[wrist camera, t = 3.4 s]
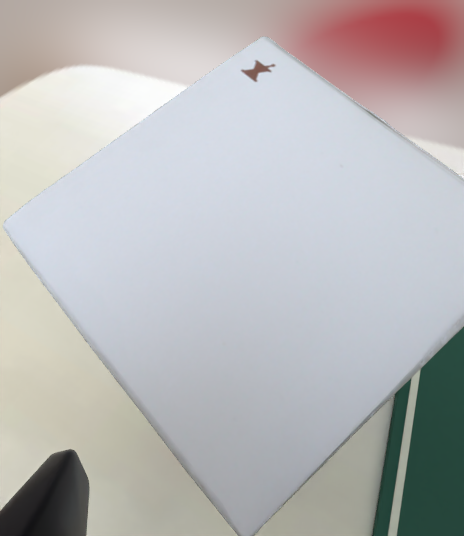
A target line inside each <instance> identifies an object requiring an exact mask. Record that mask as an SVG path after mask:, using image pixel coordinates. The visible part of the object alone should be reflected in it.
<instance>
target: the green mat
mask: <svg viewBox="0 0 464 536" xmlns="http://www.w3.org/2000/svg"><path fill="white" fill-rule="evenodd" d="M372 536H464V327H463V328H462V329H461V330H460V331H459V332H458V333H456V334H455V335H454V336H453V337H452V338H451V339H450V340H449V341H448V342H447V343H446V344H445V345H444V346H443V347H442V348H441V349H440V350H439V351H438V352H437V353H436V354H435V355H434V356H433V357H432V358H431V359H430V360H429V361H428V362H427V363H426V364H425V365H424V366H423V367H422V368H421V369H420V370H419V371H418V372H417V373H416V374H415V375H414V376H413V377H412V378H411V379H410V380H409V381H408V382H407V383H406V384H404V385H403V386H402V387H401V388H400V389H399V390H398V391H397V392H396V394H395V400H394V406H393V412H392V418H391V424H390V430H389V437H388V443H387V449H386V455H385V461H384V467H383V473H382V480H381V486H380V492H379V498H378V504H377V510H376V517H375V523H374V529H373V535H372Z"/></svg>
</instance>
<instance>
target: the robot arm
mask: <svg viewBox="0 0 464 536" xmlns="http://www.w3.org/2000/svg"><path fill="white" fill-rule="evenodd" d="M88 503H89V480H88V477H87V475H86V473H85V470H84V468H83V466H82V464H81V462H80V460H79V457H78V455H77V453H76V452H75V451H74V450H71V449H69V450H65V451H61V452H57V453H54V454H52V455H51V456H50V457H49V458H48V459H47V460H46V461H45V462H44V463H43V464H42V465H41V467H40V468H39V469H38V470H37V471H36V472H35V473H34V474H33V475H32V477H31V478H30V479H29V480H28V481H27V482H26V483H25V484H24V485H23V486H22V488H21V489H20V490H19V491H18V492H17V493H16V494H15V495H14V496H13V497H12V499H11V500H10V501H9V502H8V503H7V504H6V505H5V506H4V507H3V508H2V510H1V511H0V536H86V531H87V517H88Z"/></svg>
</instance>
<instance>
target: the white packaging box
mask: <svg viewBox="0 0 464 536" xmlns="http://www.w3.org/2000/svg"><path fill="white" fill-rule="evenodd" d="M3 228H4V230H5V231H6V233H7V234H8V236H9V238H10V239H11V241H12V242H13V243H14V245H15V246H16V248H17V249H18V251H19V252H20V253H21V255H22V256H23V258H24V259H25V260H26V262H27V263H28V265H29V266H30V267H31V269H32V270H33V271H34V272H35V274H36V275H37V277H38V278H39V279H40V281H41V282H42V283H43V285H44V286H45V287H46V289H47V290H48V291H49V293H50V294H51V295H52V297H53V298H54V299H55V301H56V302H57V303H58V304H59V306H60V307H61V308H62V310H63V311H64V312H65V314H66V315H67V316H68V318H69V319H70V320H71V322H72V323H73V324H74V326H75V327H76V328H77V330H78V331H79V332H80V334H81V335H82V336H83V338H84V339H85V340H86V342H87V343H88V344H89V346H90V347H91V348H92V350H93V351H94V352H95V353H96V355H97V356H98V357H99V359H100V360H101V361H102V362H103V364H104V365H105V366H106V368H107V369H108V370H109V371H110V373H111V374H112V375H113V377H114V378H115V379H116V380H117V382H118V383H119V384H120V386H121V387H122V388H123V389H124V391H125V392H126V393H127V395H128V396H129V397H130V398H131V400H132V401H133V402H134V404H135V405H136V406H137V407H138V409H139V410H140V411H141V413H142V414H143V415H144V416H145V418H146V419H147V420H148V422H149V423H150V424H151V426H152V427H153V428H154V430H155V431H156V432H157V433H158V435H159V436H160V437H161V439H162V440H163V441H164V443H165V444H166V445H167V446H168V448H169V449H170V450H171V452H172V453H173V454H174V456H175V457H176V458H177V460H178V461H179V462H180V463H181V465H182V466H183V467H184V469H185V470H186V471H187V473H188V474H189V475H190V476H191V478H192V479H193V480H194V481H195V483H196V484H197V485H198V486H199V488H200V489H201V490H202V491H203V493H204V494H205V495H206V496H207V498H208V499H209V500H210V501H211V503H212V504H213V505H214V506H215V507H216V509H217V510H218V511H219V512H220V514H221V515H222V516H223V517H224V519H225V520H226V521H227V522H228V524H229V525H230V526H231V527H232V529H233V530H234V531H235V532H236V533H237V535H238V536H254V535H255V534H256V533H257V532H258V531H259V529H260V528H261V527H262V526H263V525H264V524H265V523H266V522H267V521H268V520H269V519H270V518H271V517H272V516H273V515H274V514H275V513H276V512H277V511H278V510H279V509H280V508H281V507H282V506H283V505H284V504H285V503H286V502H287V501H288V500H289V499H290V498H291V497H292V496H293V495H294V494H295V493H296V492H297V491H298V490H299V489H300V488H301V487H302V486H303V485H304V484H305V483H306V482H307V481H308V480H309V479H310V478H311V477H312V476H313V475H314V474H315V473H316V472H317V471H318V470H319V469H320V468H321V467H322V466H323V465H324V464H325V463H326V462H327V461H328V460H329V459H330V458H331V457H332V456H333V455H334V454H335V453H336V452H337V451H338V450H339V449H340V448H341V447H342V446H343V445H344V444H345V443H346V442H347V441H348V440H349V439H350V438H351V437H352V436H353V435H354V434H355V433H356V432H357V431H358V430H359V429H360V428H361V427H362V426H363V425H364V424H365V423H366V422H367V421H368V420H369V419H370V418H371V417H372V416H373V415H374V414H375V413H376V412H377V411H378V410H379V409H380V408H381V407H382V406H383V405H384V404H385V403H386V402H387V401H388V400H389V399H390V398H391V397H392V396H393V395H394V394H395V393H396V392H397V391H398V390H399V389H400V388H401V387H402V386H403V385H404V384H406V383H407V382H408V381H409V380H410V379H411V378H412V377H413V376H414V375H415V374H416V373H417V372H418V371H419V370H420V369H421V368H422V367H423V366H424V365H425V364H426V363H427V362H428V361H429V360H430V359H431V358H432V357H433V356H434V355H435V354H436V353H437V352H438V351H439V350H440V349H441V348H442V347H443V346H444V345H445V344H446V343H447V342H448V341H449V340H450V339H451V338H452V337H453V336H454V335H455V334H456V333H458V332H459V331H460V330H461V329H462V328H463V327H464V179H463V178H462V177H461V176H459V175H458V174H456V173H455V172H454V171H452V170H451V169H449V168H448V167H447V166H445V165H444V164H443V163H441V162H440V161H438V160H437V159H436V158H434V157H433V156H431V155H430V154H429V153H427V152H426V151H424V150H423V149H422V148H420V147H419V146H417V145H416V144H415V143H413V142H412V141H410V140H409V139H408V138H406V137H405V136H403V135H402V134H401V133H399V132H398V131H397V130H395V129H394V128H392V127H391V126H390V125H389V124H388V123H387V122H386V121H384V120H383V119H381V118H380V117H378V116H377V115H376V114H374V113H373V112H371V111H370V110H368V109H367V108H365V107H363V106H362V105H360V104H359V103H358V102H356V101H355V100H353V99H352V98H351V97H349V96H348V95H347V94H345V93H344V92H342V91H341V90H339V89H338V88H336V87H335V86H334V85H332V84H331V83H330V82H328V81H327V80H325V79H324V78H322V77H321V76H320V75H318V74H317V73H316V72H314V71H313V70H312V69H310V68H309V67H307V66H306V65H305V64H304V63H302V62H301V61H299V60H298V59H297V58H295V57H293V56H292V55H291V54H290V53H288V52H287V51H285V50H284V49H283V48H281V47H280V46H279V45H278V44H277V43H275V42H274V41H273V40H271V39H270V38H269V37H264V36H263V37H261V38H259V39H258V40H256V41H255V42H254V43H252V44H251V45H249V46H247V47H246V48H245V49H243V50H241V51H240V52H238V53H237V54H235V55H233V56H232V57H231V58H229V59H228V60H226V61H225V62H223V63H222V64H221V65H219V66H218V67H216V68H215V69H213V70H212V71H210V72H209V73H208V74H206V75H205V76H204V77H202V78H201V79H199V80H198V81H196V82H195V83H194V84H192V85H191V86H190V87H188V88H187V89H185V90H184V91H183V92H181V93H180V94H178V95H177V96H176V97H174V98H173V99H171V100H170V101H169V102H167V103H166V104H164V105H163V106H161V107H160V108H159V109H157V110H156V111H154V112H153V113H152V114H150V115H149V116H148V117H146V118H145V119H144V120H142V121H141V122H139V123H138V124H137V125H135V126H134V127H132V128H131V129H129V130H128V131H127V132H125V133H124V134H122V135H121V136H120V137H118V138H117V139H115V140H114V141H112V142H111V143H110V144H108V145H107V146H106V147H104V148H103V149H101V150H100V151H99V152H97V153H96V154H94V155H93V156H92V157H90V158H89V159H87V160H86V161H85V162H83V163H82V164H81V165H79V166H78V167H76V168H75V169H74V170H72V171H71V172H70V173H68V174H67V175H65V176H63V177H62V178H61V179H59V180H58V181H57V182H56V183H54V184H53V185H51V186H49V187H48V188H46V189H45V190H44V191H42V192H41V193H40V194H38V195H37V196H36V197H34V198H33V199H31V200H30V201H29V202H27V203H26V204H25V205H24V206H22V207H21V208H20V209H19V210H18V211H16V212H15V213H14V214H13V215H11V216H10V217H9V218H8V219H7V220H5V222H4V224H3Z"/></svg>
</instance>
